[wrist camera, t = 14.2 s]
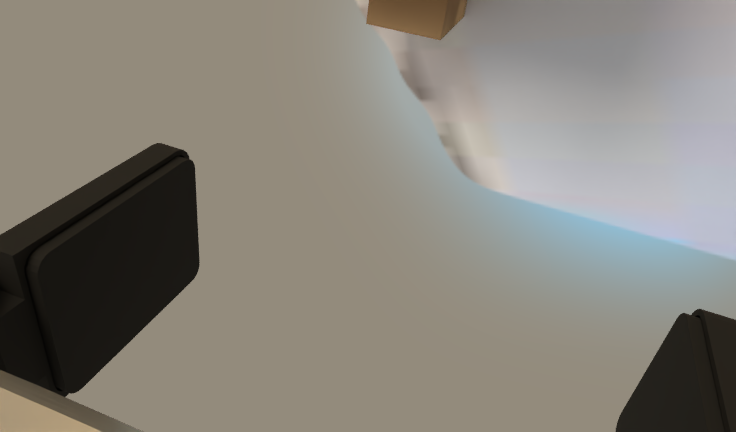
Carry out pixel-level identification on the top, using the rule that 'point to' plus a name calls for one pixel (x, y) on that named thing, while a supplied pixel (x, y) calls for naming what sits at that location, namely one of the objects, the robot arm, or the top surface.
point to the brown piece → (417, 15)
